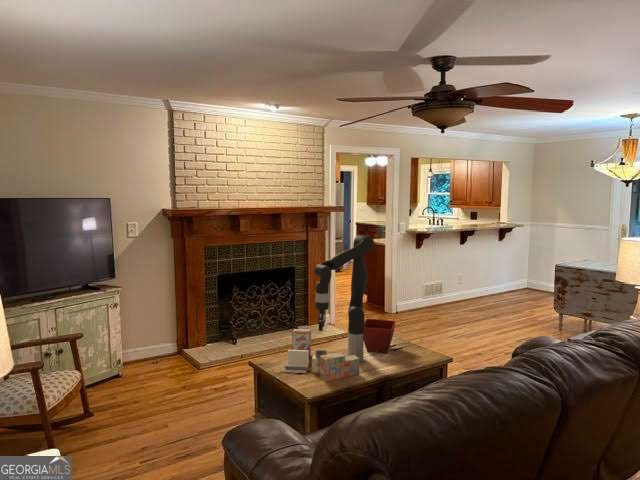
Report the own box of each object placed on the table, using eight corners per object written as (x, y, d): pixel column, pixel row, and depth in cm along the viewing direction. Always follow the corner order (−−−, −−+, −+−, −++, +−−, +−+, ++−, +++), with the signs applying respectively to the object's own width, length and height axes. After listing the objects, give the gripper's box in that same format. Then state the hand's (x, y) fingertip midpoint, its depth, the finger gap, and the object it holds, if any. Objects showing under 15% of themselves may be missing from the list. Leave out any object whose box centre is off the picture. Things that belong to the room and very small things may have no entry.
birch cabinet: (330, 369, 264) (330, 349, 262) (329, 373, 259) (329, 352, 257) (312, 368, 265) (312, 348, 263) (311, 372, 260) (311, 351, 258)
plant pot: (360, 352, 290) (360, 326, 288) (366, 342, 308) (366, 318, 306) (390, 356, 284) (391, 329, 282) (395, 345, 302) (395, 320, 300)
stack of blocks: (354, 370, 262) (354, 349, 261) (359, 374, 257) (359, 353, 255) (319, 376, 254) (319, 355, 252) (324, 381, 248) (324, 359, 247)
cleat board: (308, 364, 270) (308, 349, 269) (306, 372, 259) (306, 357, 258) (288, 363, 272) (288, 349, 271) (284, 372, 260) (284, 356, 259)
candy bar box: (292, 357, 282) (291, 331, 280) (293, 354, 287) (293, 328, 285) (310, 358, 281) (310, 331, 279) (311, 355, 286) (311, 329, 284)
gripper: (327, 304, 251) (326, 333, 253) (330, 297, 265) (329, 325, 267) (313, 303, 252) (313, 332, 254) (317, 297, 266) (316, 324, 268)
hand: (321, 328), depth 260 cm, fingers open, 8 cm apart
